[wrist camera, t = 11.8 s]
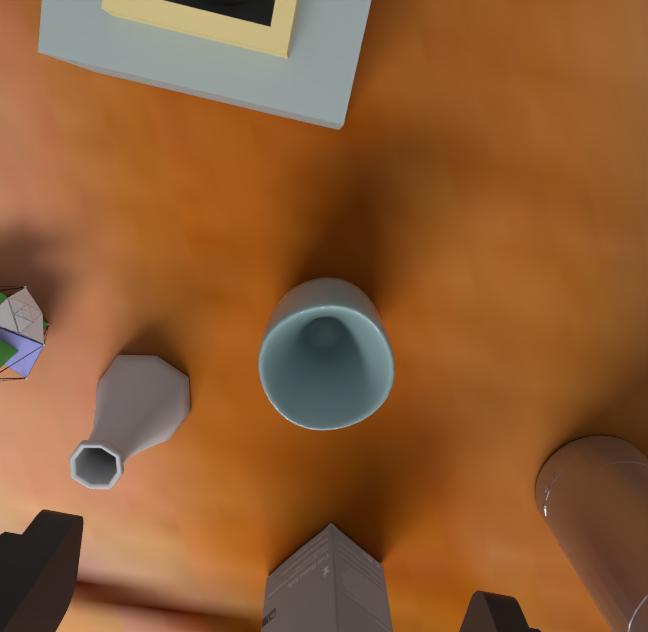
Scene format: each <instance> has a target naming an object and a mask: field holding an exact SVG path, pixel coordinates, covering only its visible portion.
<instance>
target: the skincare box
mask: <svg viewBox="0 0 648 632" xmlns="http://www.w3.org/2000/svg"><path fill="white" fill-rule="evenodd" d="M261 632H393V629H392V622H391V616H390V609H389V603H388V596H387V589H386V583H385V577H384V571H383V566H382V565H381V564H380V563H379V562H377V561H376V560H375V559H374V558H373V557H371V556H370V555H369V554H368V553H366V552H365V551H364V550H363V549H361V548H360V547H359V546H358V545H356V544H355V543H354V542H353V541H352V540H350V539H349V538H348V537H347V536H346V535H344V534H343V533H342V532H341V531H340V530H338V529H337V528H336V527H335V526H334V525H333V524H332V523H330V524H329V525H328V526H327V527H326V528H325V529H324V530H323V531H322V532H320V533H319V534H318V535H316V536H315V537H314V538H313V539H311V540H310V541H309V542H308V543H306V544H305V545H304V546H303V547H301V548H300V549H299V550H298V551H297V552H295V553H294V554H293V555H292V556H291V557H290V558H288V559H287V560H286V561H285V562H284V563H283V564H282V565H281V566H279V567H278V568H277V569H276V570H275V571H274V572H273V573H272V574H271V575H270V576H269V577H268V578H267V580H266V590H265V600H264V610H263V619H262V629H261Z"/></svg>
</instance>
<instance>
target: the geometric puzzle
mask: <svg viewBox="0 0 648 632" xmlns="http://www.w3.org/2000/svg"><path fill="white" fill-rule="evenodd" d="M2 287H10V286H2ZM21 288H23V289H21V290H20V291H18V292H16V293H14V294H13V295H11V296H9V297H8V296H6V295H5V294H3V293H2V292H0V368H1V367H2V366H3V365H4V364H5V365H6V366H8V367H7V368H11V369H12V370H14V371H16V372H17V373H19V374H20V375H22V376H23V377H24V378H0V379H13V380H16V379H28V377H27V376H28V375H29V373H30V371H31V369H32V367H33V365H34V363H35V362H36V360H37V358H38V356H39V354H40V352H41V350H42V348H43V347H44V346H45V345H46V344H45V343H44V335H45V333H44V328H45V327H46V326H47V327H48V326H49V325H50V324H49V323H48V322H47V323H46V322H45V321H44V320H43V317H44V316H43V312H42V311H41V309H40V308H39V306H38V305H37V303H36V302H35V300H34V299H33V297H32V296H31V294H30V293H29V291H28V290H27V287H26V286H24V287H21ZM12 289H19V288H12ZM4 290H10V289H4ZM0 291H1V290H0ZM44 318H45V317H44ZM45 320H46V319H45ZM46 330H48V328H46ZM45 332H46V331H45ZM46 335H47V333H46ZM45 340H46V338H45ZM7 368H5V369H7ZM5 369H4V370H5ZM4 370H2V371H4ZM2 371H1V372H2ZM2 381H6V380H2Z"/></svg>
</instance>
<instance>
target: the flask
mask: <svg viewBox="0 0 648 632" xmlns="http://www.w3.org/2000/svg"><path fill="white" fill-rule="evenodd" d="M190 412H191V411H190V392H189V377H187V376H186V375H185V374H183V373H182V372H180V371H179V370H177V369H176V368H174V367H173V366H171V365H170V364H168V363H167V362H166V361H164V360H163V359H161V358H160V357H158V356H157V355H117V357H116V358H115V359H114V361H113V362H112V364H111V365H110V366H109V368H108V369H107V370H106V372H105V373H104V375H103V376H102V377H101V379H100V380H99V382H98V383H97V393H96V410H95V418H94V427H93V430H92V432H91V435H90V437H89V440H83V441H82V442H81V443H80V444H79V446H78V447H77V448H76V450H75V451H74V452H73V454H72V455H71V457H70V458H69V463H70V471H71V478H73V479H74V480H76V481H78V482H79V483H81V484H82V485H84V486H86V487H87V488H89V489H111V488H112V487H113V485H114V484H115V483H116V482H117V480H118V479H119V478H120V476H121V475H122V474H123V472H124V466H123V464H124V463H125V462H126V461H127V460H128V459H129V458H130V457H131V456H133V455H135V454H137V453H139V452H141V451H143V450H145V449H147V448H149V447H152V446H154V445H157V444H159V443H162V442H164V441H166V440H168V439H170V438H171V437H172V435H173V434H174V433H175V431H176V430H177V429H178V428H179V426H180V425H181V424H182V423H183V421H184V420H185V419H186V417H187V416H188V415H189V414H190Z"/></svg>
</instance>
